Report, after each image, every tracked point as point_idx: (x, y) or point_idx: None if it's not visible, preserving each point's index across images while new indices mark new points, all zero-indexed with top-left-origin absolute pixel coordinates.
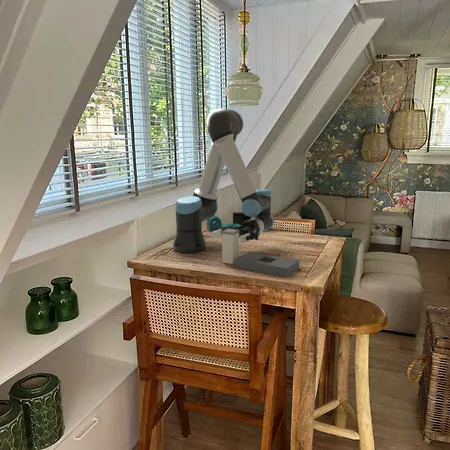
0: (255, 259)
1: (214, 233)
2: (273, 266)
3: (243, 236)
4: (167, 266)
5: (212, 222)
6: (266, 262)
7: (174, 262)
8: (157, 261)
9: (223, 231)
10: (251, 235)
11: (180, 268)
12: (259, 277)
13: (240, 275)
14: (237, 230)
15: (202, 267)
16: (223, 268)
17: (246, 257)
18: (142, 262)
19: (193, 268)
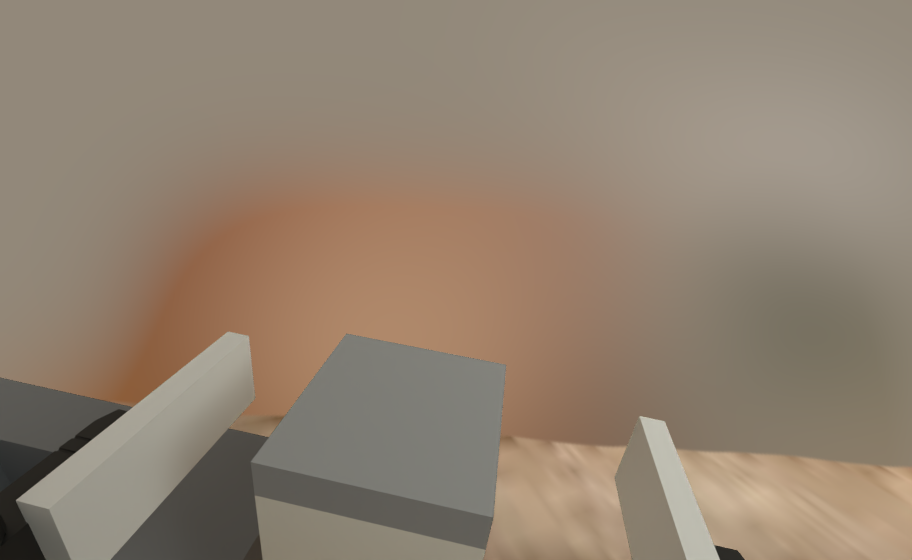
0: None
1: (642, 462)
2: (12, 382)
3: (200, 358)
4: (727, 458)
5: None
6: (30, 431)
7: (786, 540)
8: (880, 525)
9: (484, 363)
10: (1, 503)
11: None
12: None
13: (269, 431)
14: (284, 435)
15: (548, 498)
16: None
17: (197, 511)
18: (901, 481)
19: (582, 466)
